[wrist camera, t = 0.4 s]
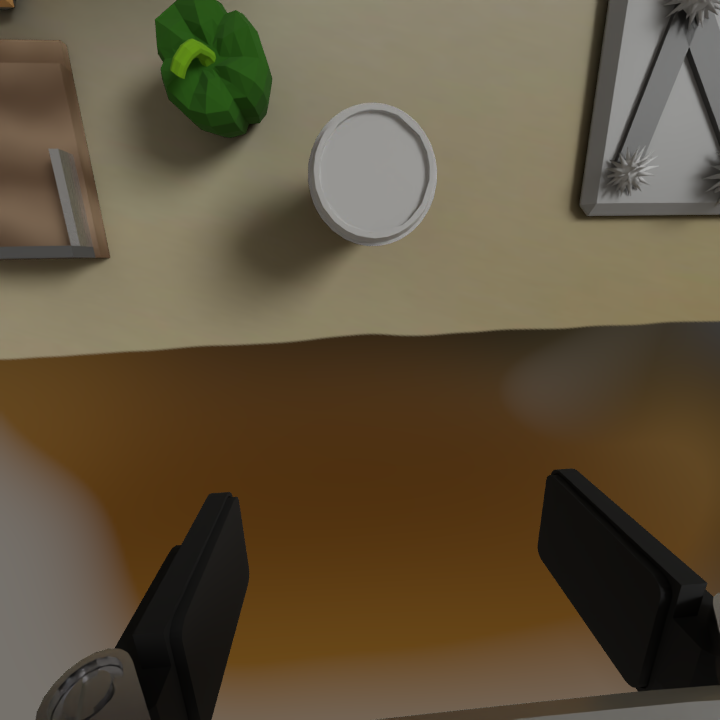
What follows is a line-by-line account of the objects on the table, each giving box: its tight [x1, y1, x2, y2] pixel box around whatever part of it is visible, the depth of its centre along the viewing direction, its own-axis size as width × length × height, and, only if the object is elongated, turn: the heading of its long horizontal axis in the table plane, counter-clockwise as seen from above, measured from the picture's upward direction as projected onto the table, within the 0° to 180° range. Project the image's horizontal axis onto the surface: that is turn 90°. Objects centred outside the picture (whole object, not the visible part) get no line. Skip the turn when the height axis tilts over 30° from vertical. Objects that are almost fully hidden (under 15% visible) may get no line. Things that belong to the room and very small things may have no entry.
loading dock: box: [0, 39, 110, 260], centre depth 31 cm, size 18×12×4 cm, turn 1°
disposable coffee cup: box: [308, 103, 437, 246], centre depth 30 cm, size 10×10×12 cm
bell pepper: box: [155, 0, 272, 138], centre depth 28 cm, size 8×8×10 cm
